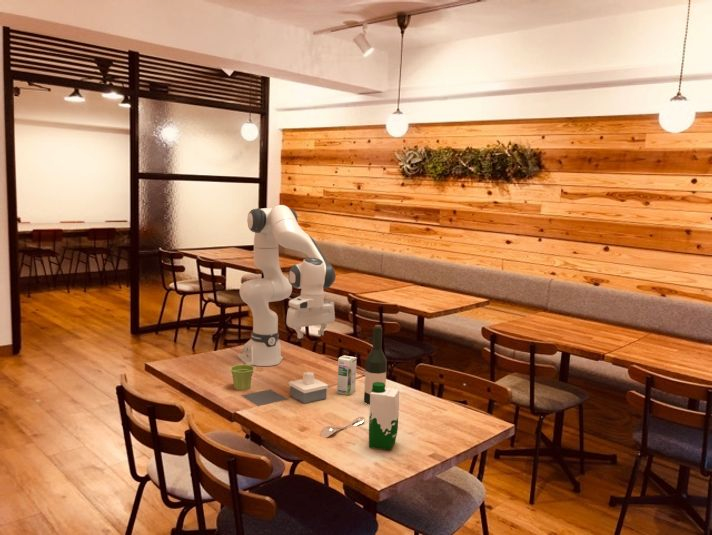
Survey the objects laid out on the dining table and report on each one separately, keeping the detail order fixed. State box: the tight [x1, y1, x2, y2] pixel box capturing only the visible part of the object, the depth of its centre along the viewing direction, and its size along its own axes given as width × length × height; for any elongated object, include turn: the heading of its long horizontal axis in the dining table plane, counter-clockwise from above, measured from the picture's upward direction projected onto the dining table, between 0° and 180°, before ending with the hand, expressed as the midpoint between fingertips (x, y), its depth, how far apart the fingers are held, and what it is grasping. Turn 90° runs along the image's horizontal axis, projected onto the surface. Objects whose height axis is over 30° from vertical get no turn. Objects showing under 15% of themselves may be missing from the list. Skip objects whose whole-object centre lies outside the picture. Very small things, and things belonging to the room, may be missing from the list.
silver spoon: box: [320, 416, 366, 439], centre depth 205 cm, size 20×4×5 cm
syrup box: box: [336, 354, 358, 396], centre depth 240 cm, size 6×6×14 cm
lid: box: [288, 371, 329, 393], centre depth 231 cm, size 11×11×5 cm
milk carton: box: [368, 382, 400, 451], centre depth 192 cm, size 9×9×20 cm
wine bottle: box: [363, 324, 388, 406], centre depth 230 cm, size 8×8×30 cm
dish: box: [289, 385, 328, 405], centre depth 231 cm, size 10×10×5 cm
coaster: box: [241, 389, 288, 407], centre depth 230 cm, size 13×13×1 cm
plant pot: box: [229, 364, 255, 391], centre depth 239 cm, size 9×9×9 cm
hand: (310, 336), depth 230 cm, fingers open, 8 cm apart
